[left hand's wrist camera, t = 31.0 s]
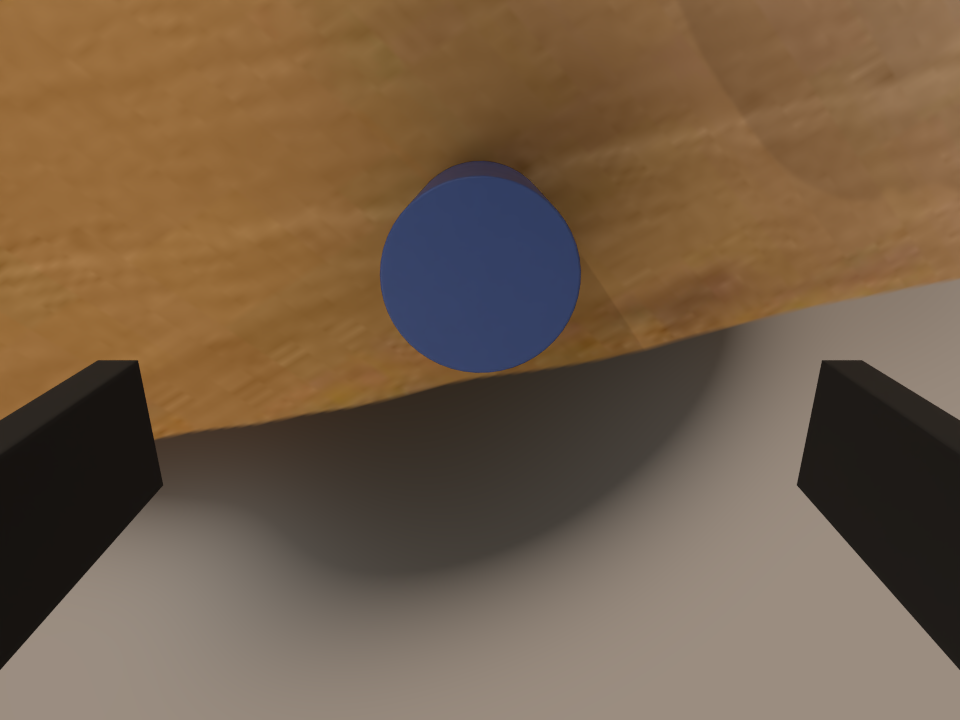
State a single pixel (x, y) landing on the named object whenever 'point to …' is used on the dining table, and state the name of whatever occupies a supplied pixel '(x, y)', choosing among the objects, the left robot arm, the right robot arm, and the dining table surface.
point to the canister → (480, 269)
